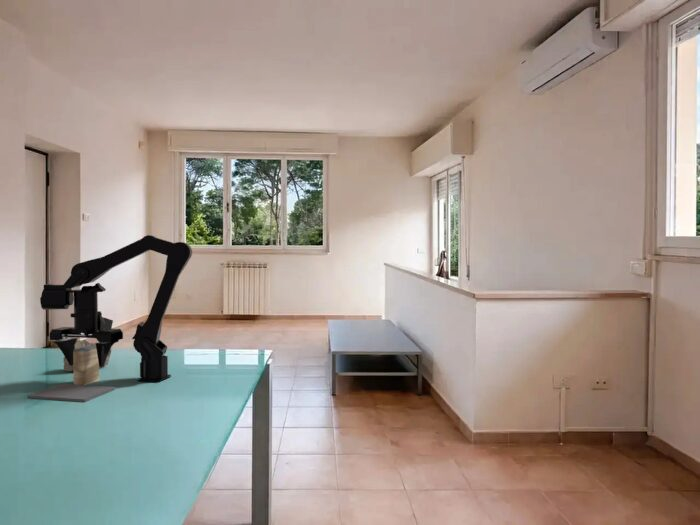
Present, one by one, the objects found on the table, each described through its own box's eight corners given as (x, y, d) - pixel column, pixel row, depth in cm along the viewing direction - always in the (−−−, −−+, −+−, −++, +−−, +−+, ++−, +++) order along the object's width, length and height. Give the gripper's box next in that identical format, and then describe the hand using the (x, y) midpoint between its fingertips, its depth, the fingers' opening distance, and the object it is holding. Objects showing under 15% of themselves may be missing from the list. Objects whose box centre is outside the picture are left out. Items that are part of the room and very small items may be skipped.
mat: (115, 389, 133) (115, 387, 133) (84, 401, 122) (84, 399, 122) (61, 386, 136) (61, 383, 136) (27, 397, 125) (27, 395, 125)
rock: (57, 370, 148) (70, 336, 150) (60, 368, 154) (72, 336, 156) (102, 380, 152) (113, 346, 154) (103, 378, 158) (114, 346, 160)
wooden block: (99, 380, 142) (98, 346, 142) (83, 385, 136) (83, 350, 136) (89, 379, 143) (89, 345, 142) (73, 385, 137) (73, 350, 137)
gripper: (135, 306, 145) (135, 361, 145) (77, 304, 149) (78, 358, 149) (108, 311, 134) (109, 370, 134) (47, 309, 138) (48, 367, 138)
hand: (86, 366), depth 139 cm, fingers open, 9 cm apart
